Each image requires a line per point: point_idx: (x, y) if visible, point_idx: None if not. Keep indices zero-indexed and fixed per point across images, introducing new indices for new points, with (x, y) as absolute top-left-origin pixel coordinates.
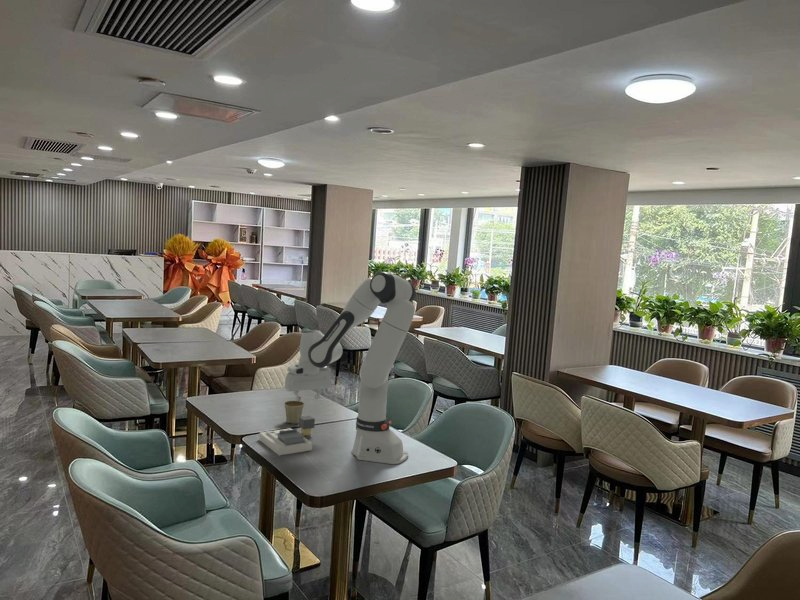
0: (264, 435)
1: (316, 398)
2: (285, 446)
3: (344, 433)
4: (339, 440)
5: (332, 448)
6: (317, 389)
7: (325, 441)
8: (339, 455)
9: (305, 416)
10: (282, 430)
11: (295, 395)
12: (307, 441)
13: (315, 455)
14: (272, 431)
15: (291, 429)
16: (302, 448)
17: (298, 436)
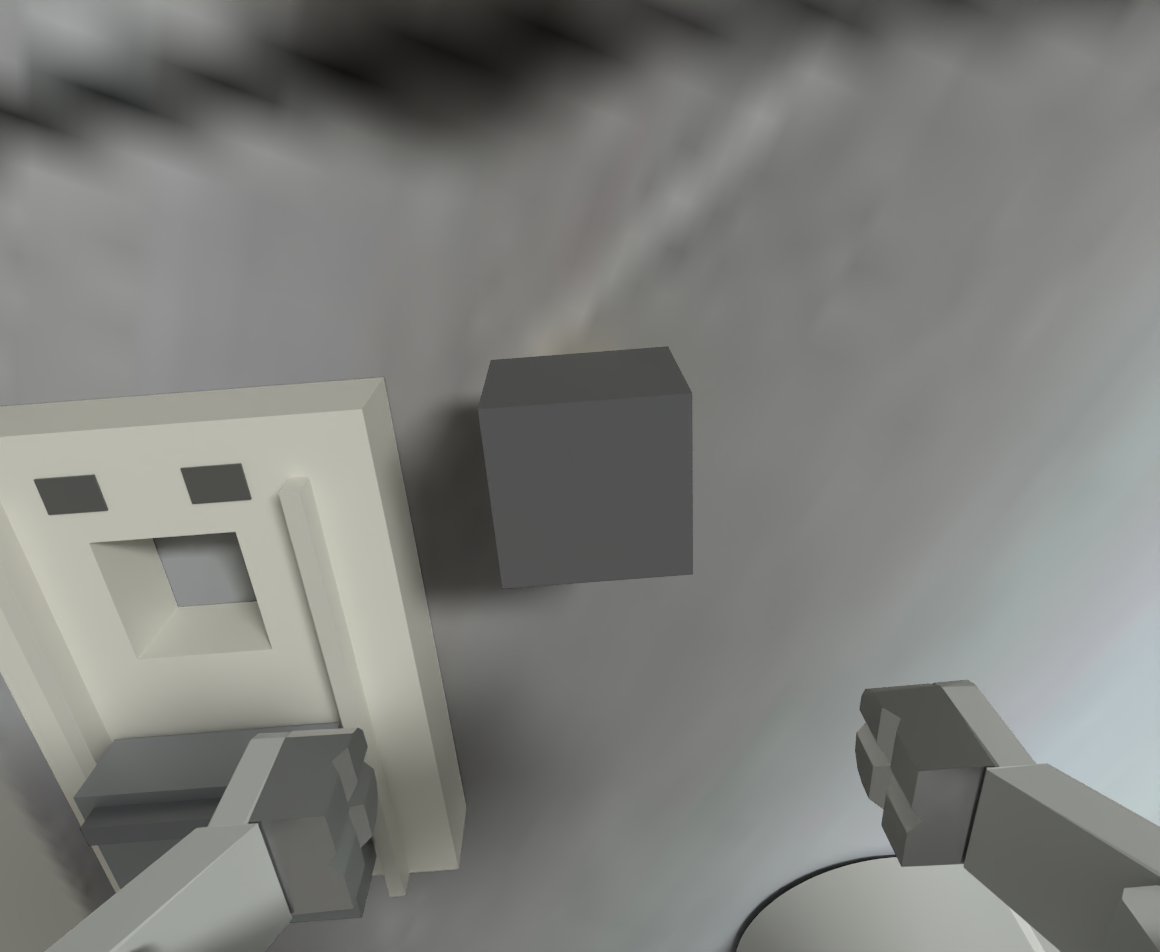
0: None
1: (865, 780)
2: None
3: (1015, 511)
4: (826, 677)
5: (655, 816)
6: (1129, 931)
7: (683, 664)
8: (634, 931)
9: (600, 421)
10: (219, 465)
11: (175, 856)
12: (404, 890)
13: (456, 893)
14: (74, 457)
15: (354, 457)
16: None
17: (298, 921)
